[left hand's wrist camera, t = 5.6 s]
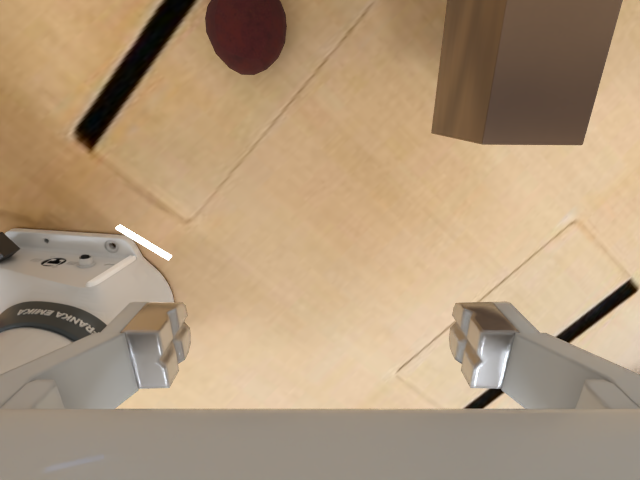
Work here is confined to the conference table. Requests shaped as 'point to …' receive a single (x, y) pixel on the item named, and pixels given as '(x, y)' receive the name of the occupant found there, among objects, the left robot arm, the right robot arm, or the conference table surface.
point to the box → (521, 69)
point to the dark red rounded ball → (246, 33)
